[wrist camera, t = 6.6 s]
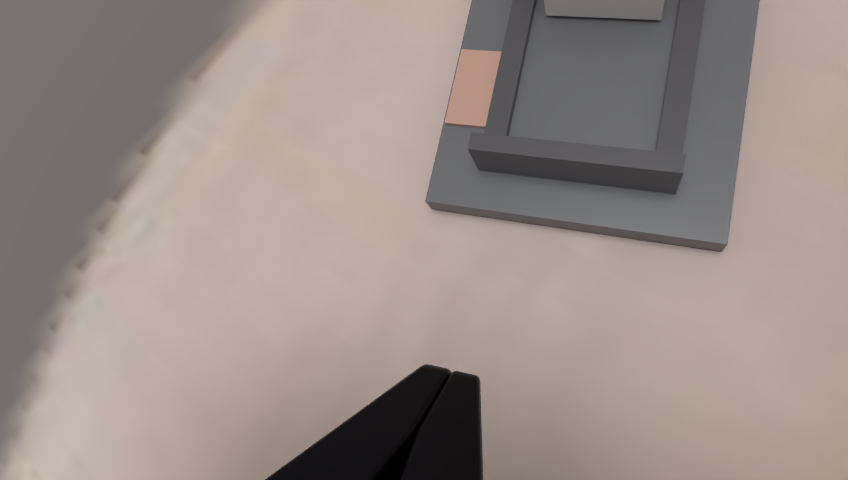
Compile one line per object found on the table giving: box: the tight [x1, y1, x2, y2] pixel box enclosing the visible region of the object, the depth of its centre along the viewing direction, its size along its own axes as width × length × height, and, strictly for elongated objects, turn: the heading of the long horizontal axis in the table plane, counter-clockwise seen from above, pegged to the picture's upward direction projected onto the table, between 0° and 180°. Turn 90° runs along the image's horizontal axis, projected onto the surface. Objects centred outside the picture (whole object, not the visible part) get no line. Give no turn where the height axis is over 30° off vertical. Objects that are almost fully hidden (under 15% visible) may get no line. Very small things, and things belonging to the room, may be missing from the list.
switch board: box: [426, 0, 759, 252], centre depth 21 cm, size 14×10×3 cm
